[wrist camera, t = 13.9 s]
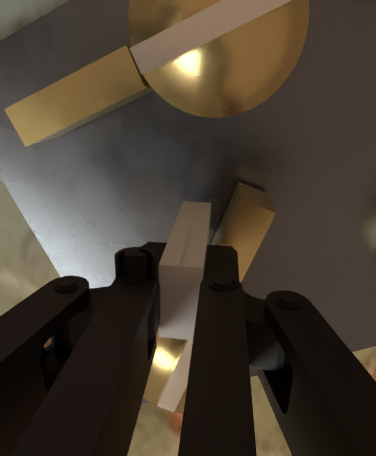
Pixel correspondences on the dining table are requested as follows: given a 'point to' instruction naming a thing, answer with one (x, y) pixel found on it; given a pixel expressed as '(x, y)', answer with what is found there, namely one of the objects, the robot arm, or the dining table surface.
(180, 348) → the knob
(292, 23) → the knob
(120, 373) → the robot arm
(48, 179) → the levelling plate
